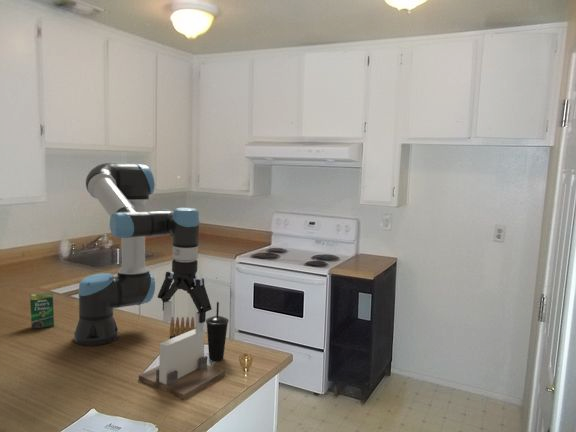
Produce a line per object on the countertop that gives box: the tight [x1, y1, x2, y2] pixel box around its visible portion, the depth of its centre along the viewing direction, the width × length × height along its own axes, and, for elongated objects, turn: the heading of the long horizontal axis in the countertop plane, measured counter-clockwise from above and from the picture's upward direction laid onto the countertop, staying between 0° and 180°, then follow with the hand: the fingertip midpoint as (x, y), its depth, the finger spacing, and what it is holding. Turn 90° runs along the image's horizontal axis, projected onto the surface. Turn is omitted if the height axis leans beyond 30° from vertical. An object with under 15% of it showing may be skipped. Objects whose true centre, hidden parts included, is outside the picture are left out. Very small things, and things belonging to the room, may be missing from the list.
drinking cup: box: [205, 301, 229, 362], centre depth 156 cm, size 8×8×20 cm
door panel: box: [158, 329, 205, 385], centre depth 141 cm, size 3×16×12 cm, turn 148°
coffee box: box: [29, 292, 55, 330], centre depth 177 cm, size 8×3×13 cm, turn 116°
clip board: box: [138, 355, 226, 400], centre depth 142 cm, size 19×18×5 cm
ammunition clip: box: [169, 316, 196, 339], centre depth 163 cm, size 11×2×12 cm, turn 97°
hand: (183, 326), depth 141 cm, fingers open, 13 cm apart
